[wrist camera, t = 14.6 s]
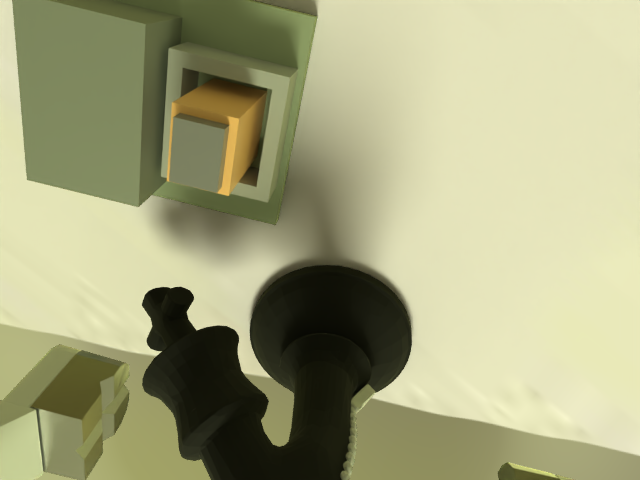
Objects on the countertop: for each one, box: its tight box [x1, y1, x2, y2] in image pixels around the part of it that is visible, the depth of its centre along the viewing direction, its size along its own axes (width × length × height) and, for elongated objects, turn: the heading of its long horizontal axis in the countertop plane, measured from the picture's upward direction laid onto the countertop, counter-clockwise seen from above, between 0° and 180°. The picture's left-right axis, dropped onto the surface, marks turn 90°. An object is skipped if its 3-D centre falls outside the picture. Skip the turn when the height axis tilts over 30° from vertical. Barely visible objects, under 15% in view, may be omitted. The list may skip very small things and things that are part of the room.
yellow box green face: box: [167, 78, 267, 196], centre depth 33 cm, size 4×5×9 cm
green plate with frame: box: [12, 0, 317, 225], centre depth 35 cm, size 18×16×7 cm
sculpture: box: [142, 265, 412, 480], centre depth 35 cm, size 15×24×25 cm, turn 63°
